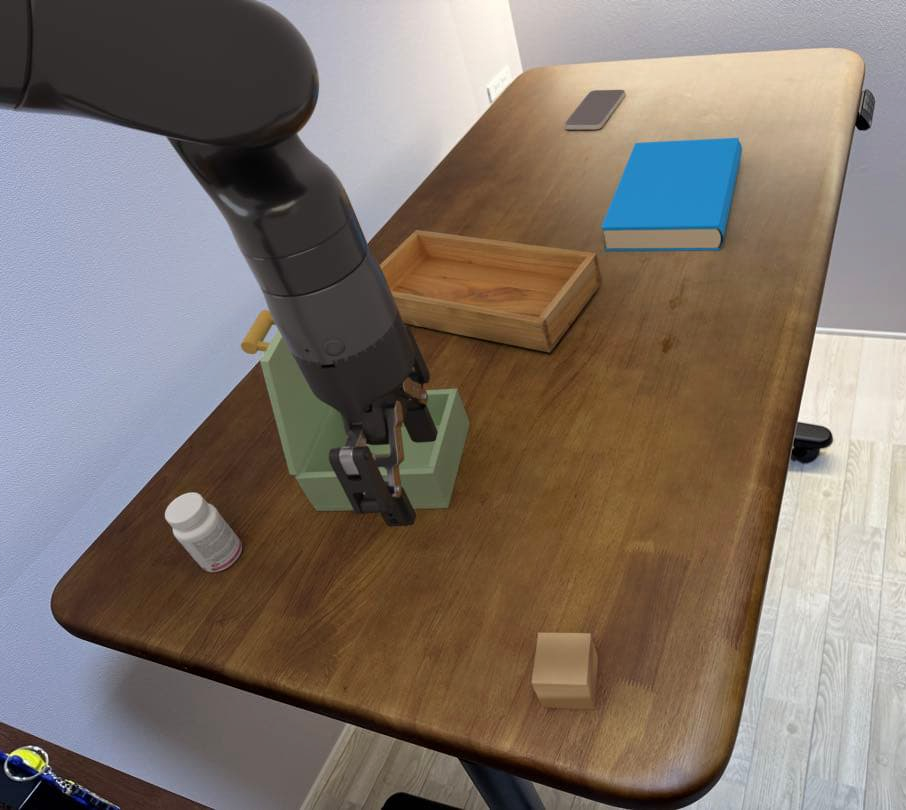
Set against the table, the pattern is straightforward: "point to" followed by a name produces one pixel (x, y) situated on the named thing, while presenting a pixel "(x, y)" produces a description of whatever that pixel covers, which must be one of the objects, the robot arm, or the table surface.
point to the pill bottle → (203, 532)
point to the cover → (286, 392)
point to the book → (674, 196)
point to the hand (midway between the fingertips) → (415, 478)
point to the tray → (490, 287)
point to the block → (565, 670)
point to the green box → (424, 463)
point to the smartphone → (595, 109)
